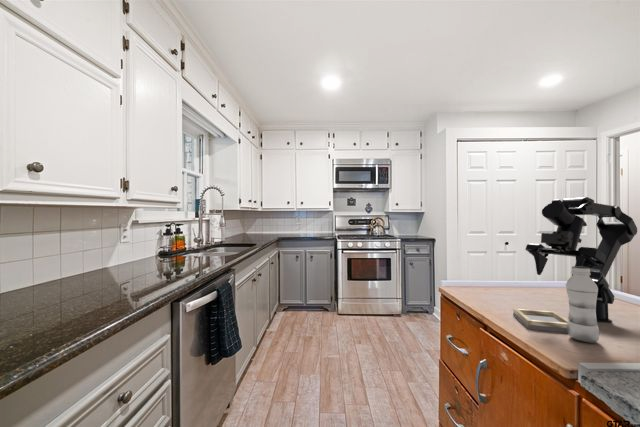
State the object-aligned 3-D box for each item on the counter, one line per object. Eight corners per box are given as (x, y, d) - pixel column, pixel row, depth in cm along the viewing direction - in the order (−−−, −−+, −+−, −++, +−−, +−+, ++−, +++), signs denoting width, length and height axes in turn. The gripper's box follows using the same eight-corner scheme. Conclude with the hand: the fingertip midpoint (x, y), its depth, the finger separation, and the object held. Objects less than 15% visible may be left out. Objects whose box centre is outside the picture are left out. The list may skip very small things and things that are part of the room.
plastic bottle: (560, 335, 76) (557, 265, 77) (581, 334, 77) (579, 265, 77) (584, 346, 70) (581, 270, 70) (607, 345, 71) (604, 269, 71)
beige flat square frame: (555, 318, 89) (555, 311, 89) (576, 333, 78) (576, 325, 78) (513, 315, 93) (513, 308, 93) (527, 328, 82) (527, 320, 82)
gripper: (522, 221, 93) (508, 262, 90) (591, 221, 75) (577, 272, 72) (541, 235, 96) (528, 275, 93) (612, 238, 78) (599, 288, 75)
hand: (554, 277), depth 83 cm, fingers open, 9 cm apart
